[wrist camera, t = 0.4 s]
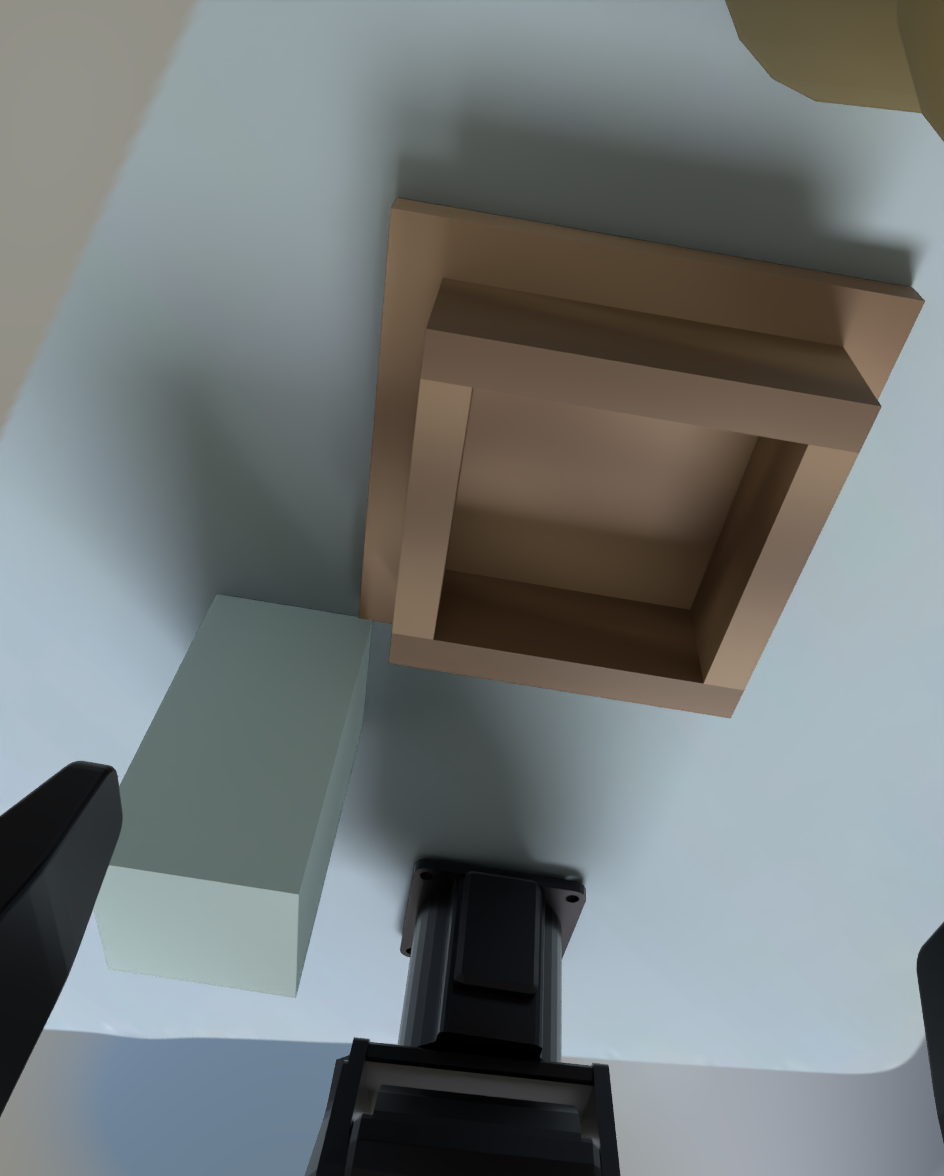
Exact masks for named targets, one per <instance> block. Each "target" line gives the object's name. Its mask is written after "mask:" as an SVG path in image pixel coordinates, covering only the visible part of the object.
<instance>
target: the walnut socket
mask: <svg viewBox="0 0 944 1176" xmlns="http://www.w3.org/2000/svg"><path fill="white" fill-rule="evenodd" d="M924 302H925V300H924V299H923V298H922V297H921V296H920V295H919V294H918V293H917V292H916V291H915V290H914V289H913V288H912V287H906V286H901V285H895V284H889V283H883V282H878V281H872V280H866V279H861V278H855V277H849V276H843V275H838V274H832V273H826V272H820V271H815V270H809V269H803V268H797V267H792V266H786V265H780V264H775V263H769V262H763V261H757V260H752V259H746V258H740V257H734V256H729V255H723V254H717V253H711V252H706V251H700V250H694V249H689V248H683V247H677V246H671V245H666V244H660V243H654V242H648V241H643V240H637V239H631V238H625V237H620V236H614V235H608V234H602V233H597V232H591V231H585V230H580V229H574V228H568V227H562V226H557V225H551V224H545V223H539V222H534V221H528V220H522V219H516V218H511V217H505V216H499V215H494V214H488V213H482V212H476V211H471V210H465V209H459V208H453V207H448V206H442V205H436V204H430V203H425V202H419V201H413V200H408V199H402V198H396V200H395V202H394V204H393V205H392V207H391V214H390V226H389V239H388V252H387V264H386V277H385V290H384V302H383V315H382V328H381V340H380V353H379V366H378V378H377V391H376V404H375V416H374V429H373V441H372V454H371V467H370V479H369V492H368V505H367V517H366V530H365V543H364V555H363V568H362V581H361V593H360V606H359V619H365V620H372V621H378V622H384V623H390V624H393V627H392V636H391V645H390V654H389V663H391V664H398V665H404V666H410V667H416V668H422V669H429V670H435V671H441V672H447V673H453V674H460V675H466V676H472V677H478V678H484V679H490V680H497V681H503V682H509V683H515V684H521V685H528V686H534V687H540V688H546V689H552V690H558V691H565V692H571V693H577V694H583V695H589V696H596V697H602V698H608V699H614V700H620V701H626V702H633V703H639V704H645V705H651V706H657V707H664V708H670V709H676V710H682V711H688V712H694V713H701V714H707V715H713V716H719V717H725V718H731V716H732V714H733V712H734V710H735V708H736V706H737V704H738V702H739V700H740V698H741V696H742V694H743V692H744V690H745V688H746V686H747V683H748V681H749V679H750V677H751V675H752V673H753V671H754V669H755V667H756V665H757V663H758V661H759V659H760V657H761V655H762V652H763V650H764V648H765V646H766V644H767V642H768V640H769V638H770V636H771V634H772V632H773V630H774V628H775V626H776V624H777V621H778V619H779V617H780V615H781V613H782V611H783V609H784V607H785V605H786V603H787V601H788V599H789V597H790V595H791V593H792V591H793V588H794V586H795V584H796V582H797V580H798V578H799V576H800V574H801V572H802V570H803V568H804V566H805V564H806V562H807V560H808V557H809V555H810V553H811V551H812V549H813V547H814V545H815V543H816V541H817V539H818V537H819V535H820V533H821V531H822V529H823V526H824V524H825V522H826V520H827V518H828V516H829V514H830V512H831V510H832V508H833V506H834V504H835V502H836V500H837V498H838V496H839V493H840V491H841V489H842V487H843V485H844V483H845V481H846V479H847V477H848V475H849V473H850V471H851V469H852V467H853V465H854V462H855V460H856V458H857V456H858V454H859V452H860V450H861V448H862V446H863V444H864V442H865V440H866V438H867V436H868V434H869V431H870V429H871V427H872V425H873V423H874V421H875V419H876V417H877V415H878V413H879V411H880V409H881V407H882V406H881V405H880V403H879V402H878V398H879V396H880V394H881V392H882V390H883V388H884V386H885V384H886V382H887V380H888V378H889V375H890V373H891V371H892V369H893V367H894V365H895V363H896V361H897V359H898V357H899V355H900V352H901V350H902V348H903V346H904V344H905V342H906V340H907V338H908V336H909V334H910V332H911V329H912V327H913V325H914V323H915V321H916V319H917V317H918V315H919V313H920V311H921V309H922V306H923V304H924Z"/></svg>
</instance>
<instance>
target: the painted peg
mask: <svg viewBox="0 0 944 1176" xmlns="http://www.w3.org/2000/svg"><path fill="white" fill-rule="evenodd" d="M371 631H372V620H365V619H359V617H355V616H349V615H343V614H337V613H331V612H324V611H318V610H312V609H306V608H300V607H294V606H288V605H281V604H275V603H269V602H263V601H257V600H251V599H245V598H238V597H232V596H226V595H220V594H216V596H215V598H214V600H213V602H212V604H211V606H210V608H209V610H208V612H207V614H206V616H205V618H204V620H203V622H202V624H201V626H200V628H199V630H198V632H197V634H196V636H195V638H194V639H193V641H192V643H191V645H190V647H189V649H188V651H187V653H186V655H185V657H184V659H183V661H182V663H181V665H180V667H179V669H178V671H177V673H176V675H175V677H174V679H173V681H172V683H171V685H170V687H169V689H168V691H167V693H166V695H165V697H164V699H163V701H162V703H161V705H160V707H159V709H158V711H157V713H156V715H155V717H154V719H153V721H152V723H151V725H150V727H149V728H148V730H147V732H146V734H145V736H144V738H143V740H142V742H141V744H140V746H139V748H138V750H137V752H136V754H135V756H134V758H133V760H132V762H131V764H130V766H129V768H128V770H127V772H126V774H125V776H124V778H123V780H122V782H121V784H120V786H119V790H120V797H121V805H122V812H123V822H122V828H121V832H120V836H119V839H118V841H117V844H116V847H115V850H114V853H113V855H112V858H111V861H110V864H109V866H108V869H107V872H106V875H105V877H104V880H103V883H102V886H101V889H100V891H99V894H98V897H97V900H96V902H95V905H94V908H93V909H94V913H95V918H96V922H97V926H98V930H99V934H100V938H101V942H102V946H103V950H104V954H105V958H106V962H107V966H108V969H109V970H116V971H123V972H129V973H136V974H142V975H149V976H155V977H162V978H169V979H175V980H182V981H188V982H195V983H201V984H208V985H215V986H221V987H228V988H234V989H241V990H247V991H254V992H261V993H267V994H274V995H280V996H287V997H293V998H296V995H297V991H298V987H299V983H300V979H301V975H302V971H303V967H304V962H305V958H306V954H307V950H308V946H309V942H310V938H311V934H312V930H313V926H314V922H315V918H316V914H317V909H318V905H319V901H320V897H321V893H322V889H323V885H324V881H325V877H326V873H327V869H328V865H329V861H330V857H331V852H332V848H333V844H334V840H335V836H336V832H337V828H338V824H339V820H340V816H341V812H342V808H343V804H344V800H345V795H346V791H347V787H348V783H349V779H350V775H351V771H352V767H353V763H354V759H355V755H356V751H357V747H358V742H359V738H360V734H361V730H362V726H363V718H364V707H365V696H366V685H367V674H368V664H369V653H370V642H371Z"/></svg>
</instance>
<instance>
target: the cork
mask: <svg viewBox="0 0 944 1176" xmlns="http://www.w3.org/2000/svg"><path fill="white" fill-rule="evenodd" d="M725 1H726V4H727V7H728V9H729V12H730V15H731V17H732V20H733V23H734V26H735V28H736V31H737V34H738V37H739V39H740V41H741V42H742V43H743V44H744V45H745V47H746V48H747V49H748V50H749V51H750V52H751V54H752V55H753V56H754V57H755V58H756V60H757V61H758V62H759V63H760V64H761V66H762V67H763V68H764V69H765V70H766V71H767V73H768V74H769V75H770V76H771V77H772V79H774V80H776V81H778V82H780V83H782V84H784V85H786V86H788V87H790V88H791V89H793V90H795V91H797V92H799V93H801V94H803V95H805V96H807V97H809V98H811V99H812V100H814V101H819V102H828V103H836V104H845V105H854V106H863V107H872V108H881V109H890V110H899V111H907V112H916V113H922V114H923V115H924V117H925V118H926V119H927V121H928V122H929V123H930V124H931V126H932V127H933V128H934V130H935V131H936V132H937V134H938V135H939V136H940V137H941V139H942V140H943V141H944V0H725Z"/></svg>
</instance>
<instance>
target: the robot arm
mask: <svg viewBox="0 0 944 1176" xmlns="http://www.w3.org/2000/svg"><path fill="white" fill-rule="evenodd" d="M122 822H123V812H122V805H121V797H120V790H119V783H118V776H117V772H116V770H115V769H114V768H113V767H112V766H109V765H104V764H98V763H93V762H87V761H76V762H72V763H70V764H68V765H67V766H65V767H64V768H63V769H61V770H60V771H59V772H58V773H56V774H55V775H54V776H52V777H51V778H50V779H48V780H47V781H46V782H44V783H43V784H42V785H40V786H39V787H38V788H36V789H35V790H34V791H33V792H31V793H30V794H29V795H27V796H26V797H25V798H23V799H22V800H21V801H19V802H18V803H17V804H15V805H14V806H13V807H11V808H10V809H9V810H7V811H6V812H5V813H4V814H2V815H1V816H0V1117H1V1114H2V1112H3V1110H4V1108H5V1106H6V1104H7V1102H8V1100H9V1098H10V1096H11V1094H12V1092H13V1090H14V1088H15V1086H16V1084H17V1082H18V1079H19V1078H20V1076H21V1074H22V1071H23V1069H24V1067H25V1065H26V1063H27V1061H28V1059H29V1057H30V1055H31V1053H32V1051H33V1049H34V1046H35V1045H36V1043H37V1041H38V1038H39V1037H40V1035H41V1033H42V1030H43V1028H44V1026H45V1024H46V1022H47V1020H48V1018H49V1016H50V1014H51V1012H52V1010H53V1008H54V1006H55V1004H56V1002H57V1000H58V998H59V996H60V993H61V991H62V989H63V987H64V985H65V982H66V980H67V978H68V976H69V973H70V971H71V968H72V965H73V963H74V960H75V958H76V955H77V952H78V950H79V947H80V944H81V941H82V938H83V936H84V933H85V930H86V927H87V925H88V922H89V919H90V916H91V913H92V911H93V908H94V905H95V902H96V900H97V897H98V894H99V891H100V889H101V886H102V883H103V880H104V877H105V875H106V872H107V869H108V866H109V864H110V861H111V858H112V855H113V853H114V850H115V847H116V844H117V841H118V839H119V836H120V832H121V828H122ZM585 901H586V888H585V887H584V885H582V884H581V883H577V882H573V881H566V880H560V879H554V878H547V877H541V876H535V875H528V874H522V873H515V872H509V871H503V870H496V869H490V868H483V867H477V866H471V865H464V864H458V863H452V862H445V861H439V860H432V859H421V860H419V861H417V862H416V863H415V866H414V872H413V878H412V884H411V889H410V895H409V901H408V907H407V912H406V918H405V924H404V929H403V935H402V941H401V947H400V951H401V953H402V954H403V955H405V956H407V957H410V963H409V970H408V977H407V984H406V991H405V998H404V1005H403V1011H402V1018H401V1025H400V1032H399V1039H398V1045H393V1044H384V1043H374V1042H370V1039H365V1038H355V1037H354V1040H353V1044H352V1048H351V1052H350V1055H349V1056H346V1057H343V1058H341V1059H337V1060H336V1064H335V1069H334V1074H333V1079H332V1084H331V1089H330V1094H329V1099H328V1103H327V1108H326V1112H325V1115H324V1119H323V1122H322V1125H321V1128H320V1131H319V1134H318V1137H317V1140H316V1143H315V1146H314V1149H313V1152H312V1155H311V1158H310V1161H309V1164H308V1167H307V1170H306V1173H305V1176H620V1170H619V1169H620V1168H619V1159H618V1149H617V1140H616V1131H615V1121H614V1112H613V1103H612V1094H611V1084H610V1074H609V1066H608V1065H606V1064H597V1063H592V1066H588V1065H579V1064H569V1063H561V971H562V958H563V955H564V953H565V950H566V948H567V945H568V943H569V941H570V938H571V936H572V933H573V931H574V928H575V926H576V923H577V921H578V919H579V916H580V914H581V911H582V909H583V906H584V904H585ZM917 977H918V984H919V991H920V998H921V1005H922V1013H923V1020H924V1027H925V1034H926V1041H927V1048H928V1055H929V1062H930V1069H931V1077H932V1084H933V1091H934V1097H935V1103H936V1109H937V1114H938V1119H939V1124H940V1128H941V1133H942V1137H943V1142H944V922H943V923H942V924H941V925H940V927H939V928H938V929H937V930H936V931H935V932H934V933H933V934H932V936H931V937H930V938H929V939H928V940H927V941H926V942H925V943H924V945H923V946H922V947H921V949H920V951H919V954H918V958H917Z"/></svg>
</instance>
